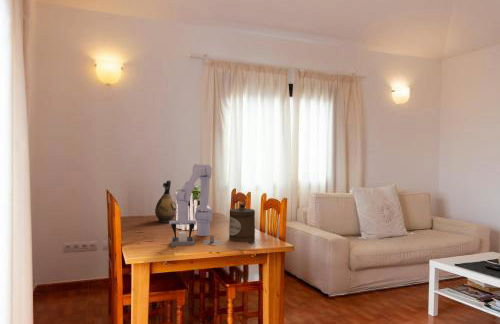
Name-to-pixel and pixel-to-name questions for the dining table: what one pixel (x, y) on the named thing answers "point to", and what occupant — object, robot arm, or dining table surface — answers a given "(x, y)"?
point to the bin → (181, 242)
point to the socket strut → (182, 236)
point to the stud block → (211, 241)
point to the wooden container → (242, 224)
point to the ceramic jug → (166, 205)
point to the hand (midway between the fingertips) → (182, 237)
